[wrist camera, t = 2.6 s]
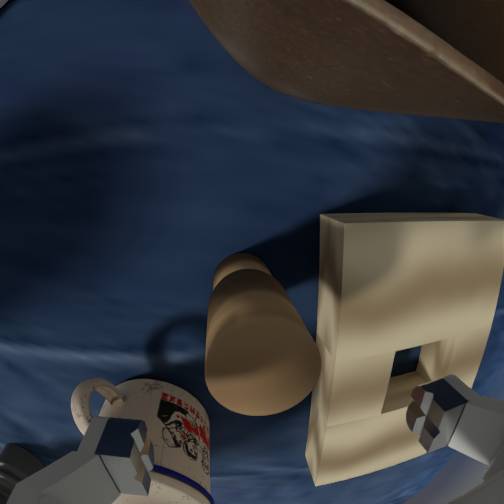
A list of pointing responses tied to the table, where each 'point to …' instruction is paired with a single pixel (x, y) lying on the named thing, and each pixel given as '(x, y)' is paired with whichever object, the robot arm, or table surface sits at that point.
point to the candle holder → (15, 468)
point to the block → (394, 327)
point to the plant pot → (371, 52)
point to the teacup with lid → (158, 435)
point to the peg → (256, 341)
